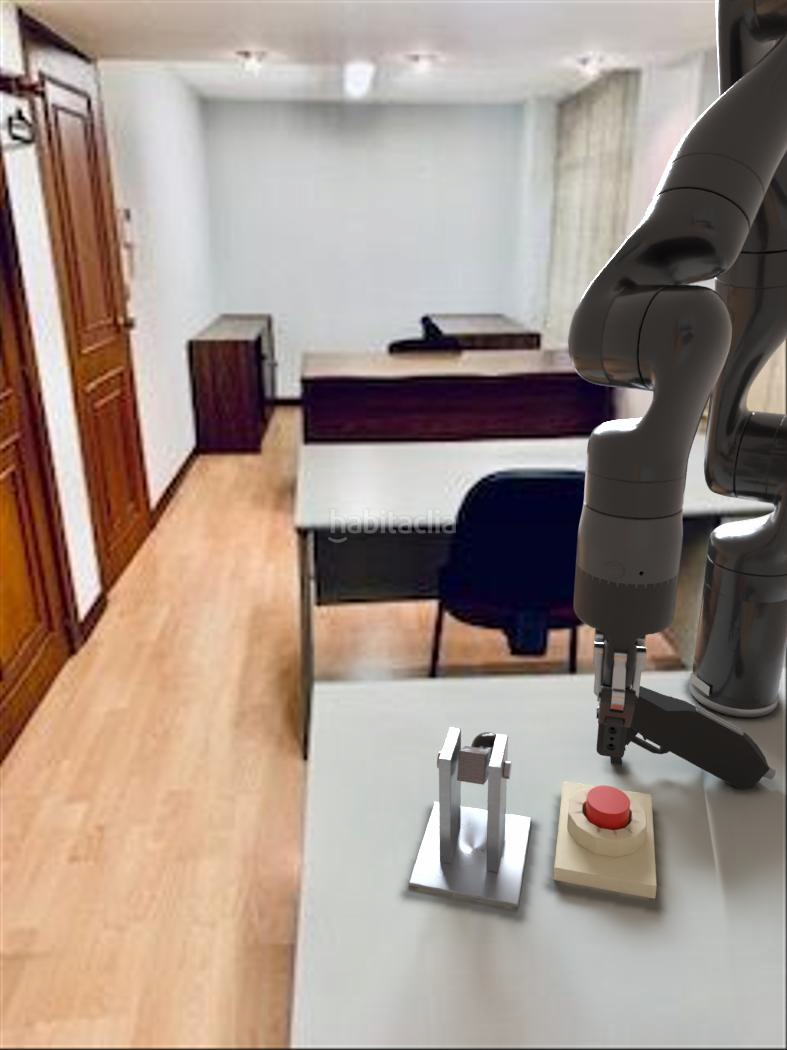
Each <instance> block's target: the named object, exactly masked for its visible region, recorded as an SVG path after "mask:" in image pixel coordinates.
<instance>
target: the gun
mask: <svg viewBox="0 0 787 1050" xmlns="http://www.w3.org/2000/svg"><path fill="white" fill-rule="evenodd" d="M638 734H639V735H640V736H641V737H642V738H640V737H638V736H637V735H638ZM648 741H649V742H651V743H653V744H651V743H649V742H648ZM631 743H633V744H634V745H637V746H638V747H641V748H642V749H644V750H646V751H648V752H650V753H652V754H655V755H656V754H657V755H664V754H665V755H666V754H668V753H672V754H674V755H675V756H677V757H679V758H681V759H683V760H685V761H686V762H688V763H690V764H692V765H694V766H696V767H698V768H700V769H701V770H703V771H705V772H707V773H709V774H711V775H713V776H715V778H719V779H720V780H722V781H724V782H725V783H728V784H729V785H731V786H733V787H734V788H737V789H739V790H740V791H741V790H749V789H753V788H754V787H755V786H756V785H757V784H758V783H759V782H760V780H761V779H762V778H764V779H768V780H773V779H775V777H776V775H777V772H776V770H775V769H774V768H773V767H772V766H770V765H769V764H768V761H767V757H765V756H766V755H765V754H764V753H763V752H762V750H761V749H760V747H759V745H758V744H757V743H756V741H754V740H753V738H752V737H750V735H748V733H746V732H744V731H743V729H742V728H740V727H738V726H736V725H735V724H733V723H731V722H729V721H727V720H726V719H724V718H721V717H720V716H718V715H716V714H714V713H712V712H710V711H708V710H707V709H705V708H703V707H701V706H699V705H694V704H692V703H690V702H688V701H686V700H683V699H679V698H676V697H674V696H669V695H666V694H663V693H660V692H658V691H655V690H653V689H650V688H647V687H645V686H641V685H640V689H639V697H638V699H637V703H636V702H635V708H634V712H633V722H632V723H631V725H630V728H629V727H627V731H626V741H625V751H626V750H627V749H626V748H627V747H626V746H629V744H631ZM654 744H655V745H656V746H655V745H654ZM658 746H659V747H658ZM609 759H610V764H618V765H622V764H623V760H622V759H623V757H621V758H616V757H609Z"/></svg>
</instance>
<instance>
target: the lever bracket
mask: <svg viewBox="0 0 787 1050" xmlns="http://www.w3.org/2000/svg"><path fill="white" fill-rule="evenodd" d="M495 734H496V738H495V742H494V746H493V750H492V754H491V758H490V762H489V766H488V779H487V809H483V808H477V807H470V806H464V805H462V804H461V803H462V797H461V795H462V791H461V790H462V781H457V773H458V762H459V751H460V750H461V749H462V728H458V727H453V726H452V727H451V726H450V727H449V728H448V731H447V734H446V737H445V739H444V743H443V746H442V749H441V750H439V751H438V753H437V756H436V757H437V758H436V768H437V769H438V801H434V803H433V807H432V810H431V813H430V816H429V819H428V822H427V825H426V828H425V831H424V834H423V837H422V840H421V844H420V847H419V849H418V853H417V856H416V859H415V862H414V865H413V868H412V872H411V874H410V878H409V881H408V886H409V887H412V888H418V889H424V890H428V891H434V892H438V893H443V894H448V895H454V896H459V897H462V898H469V899H474V900H477V901H478V900H479V901H483V902H489V903H493V904H499V905H503V906H507V907H508V906H509V907H514V908H519V904H520V899H521V890H522V883H523V878H524V871H525V864H526V858H527V851H528V844H529V838H530V832H531V831H530V830H531V825H532V817H530V816H523V815H518V814H512V813H507V791H508V790H507V789H508V787H507V784H508V780H510V779H511V775H512V761H510V760H508V759H509V758H508V757H509V755H508V753H509V752H508V751H509V735H507V734H501V733H495Z"/></svg>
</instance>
